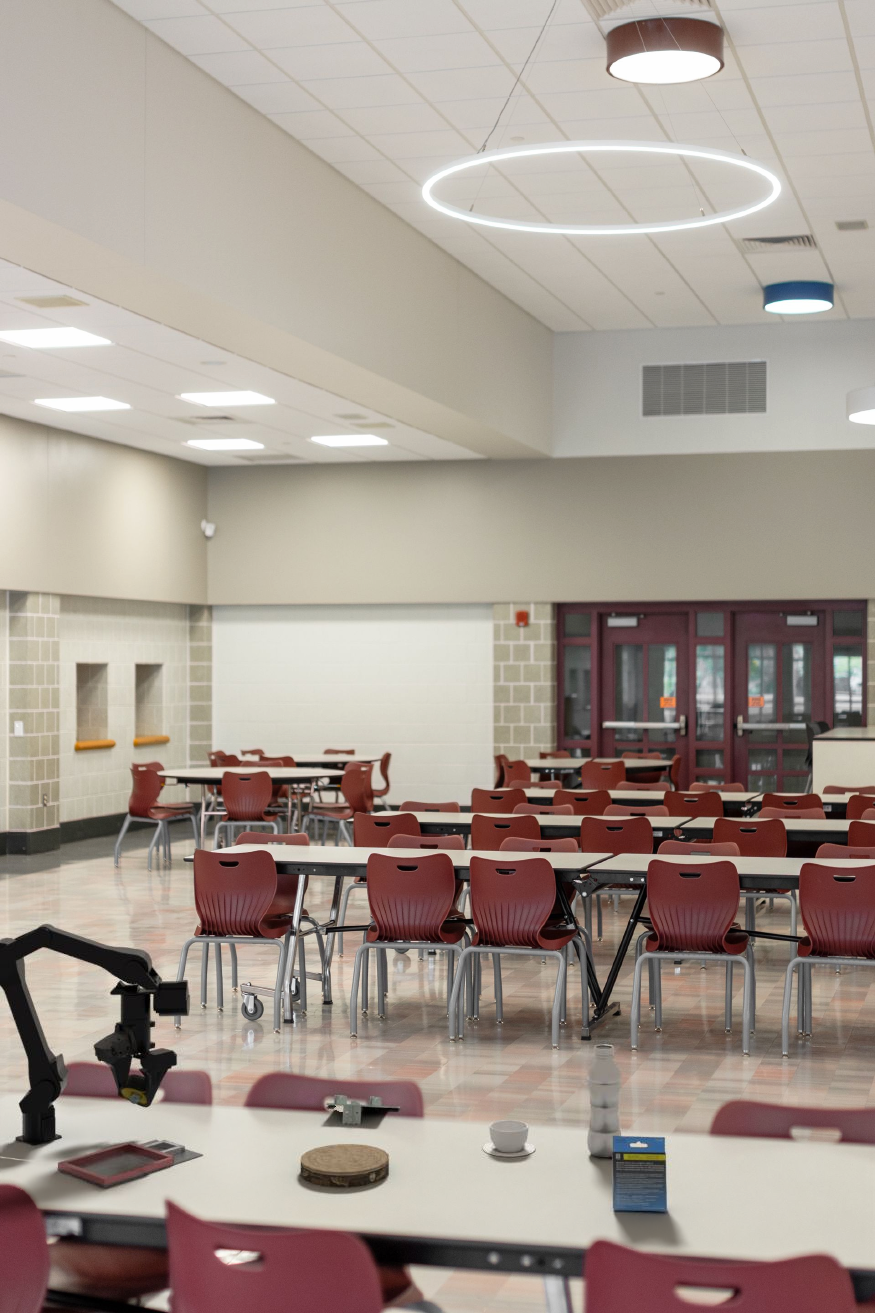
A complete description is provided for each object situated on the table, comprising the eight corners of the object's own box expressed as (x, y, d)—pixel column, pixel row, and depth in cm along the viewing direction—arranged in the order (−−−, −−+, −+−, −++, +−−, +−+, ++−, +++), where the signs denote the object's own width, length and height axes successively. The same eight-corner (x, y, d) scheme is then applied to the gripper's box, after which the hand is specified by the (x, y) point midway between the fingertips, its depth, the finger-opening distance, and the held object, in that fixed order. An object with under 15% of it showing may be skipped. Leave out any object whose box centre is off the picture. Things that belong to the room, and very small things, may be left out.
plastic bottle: (582, 1159, 268) (581, 1049, 269) (593, 1148, 275) (592, 1041, 275) (616, 1163, 266) (616, 1052, 267) (626, 1152, 272) (625, 1044, 273)
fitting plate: (57, 1171, 263) (57, 1163, 263) (155, 1143, 280) (155, 1134, 280) (104, 1188, 254) (104, 1179, 254) (203, 1158, 271) (203, 1149, 271)
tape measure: (146, 1114, 283) (154, 1097, 286) (152, 1100, 278) (160, 1083, 281) (114, 1099, 283) (122, 1083, 286) (119, 1085, 278) (128, 1068, 281)
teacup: (518, 1162, 267) (518, 1137, 268) (472, 1153, 273) (472, 1128, 273) (545, 1148, 276) (545, 1123, 276) (499, 1139, 281) (499, 1115, 281)
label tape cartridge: (666, 1204, 245) (665, 1130, 245) (667, 1213, 241) (666, 1137, 241) (612, 1203, 246) (611, 1129, 246) (612, 1211, 242) (612, 1136, 242)
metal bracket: (388, 1097, 289) (315, 1094, 292) (387, 1128, 287) (313, 1124, 290) (402, 1098, 303) (331, 1095, 305) (400, 1128, 301) (330, 1124, 303)
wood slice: (282, 1175, 261) (282, 1159, 261) (346, 1155, 273) (346, 1138, 273) (343, 1196, 250) (343, 1178, 251) (407, 1173, 262) (407, 1156, 262)
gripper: (72, 1017, 283) (71, 1098, 282) (131, 1031, 271) (131, 1116, 270) (119, 1007, 291) (119, 1086, 291) (178, 1021, 279) (178, 1103, 279)
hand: (135, 1098), depth 282 cm, fingers closed on tape measure, 8 cm apart
